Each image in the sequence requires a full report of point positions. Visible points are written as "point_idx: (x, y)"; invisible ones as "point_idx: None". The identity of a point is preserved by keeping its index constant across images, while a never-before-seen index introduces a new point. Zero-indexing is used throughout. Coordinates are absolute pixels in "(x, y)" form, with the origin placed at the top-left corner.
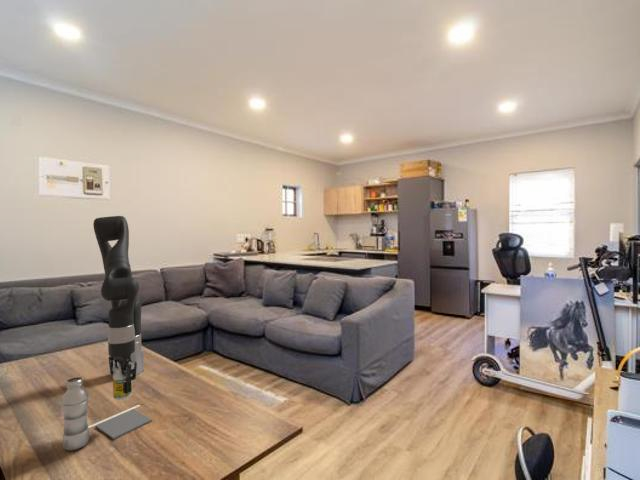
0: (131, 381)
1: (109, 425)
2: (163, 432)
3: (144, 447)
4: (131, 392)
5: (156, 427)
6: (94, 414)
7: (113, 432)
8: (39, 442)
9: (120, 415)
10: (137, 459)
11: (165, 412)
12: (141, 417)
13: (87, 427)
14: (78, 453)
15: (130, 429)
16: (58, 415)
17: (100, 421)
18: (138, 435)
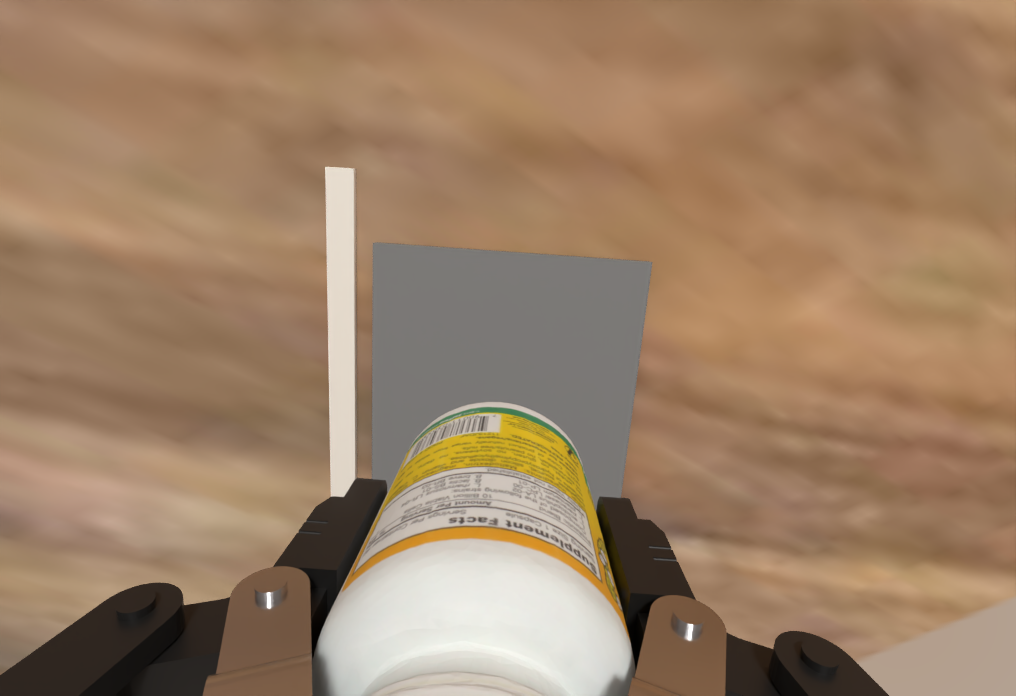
0: (582, 520)
1: None
2: (847, 308)
3: (861, 461)
4: (573, 451)
5: (748, 294)
6: (186, 411)
7: None
8: None
9: (382, 346)
10: (914, 537)
11: (631, 121)
12: (551, 285)
13: None
14: None
15: (627, 413)
16: (6, 529)
17: (334, 447)
18: (715, 409)
